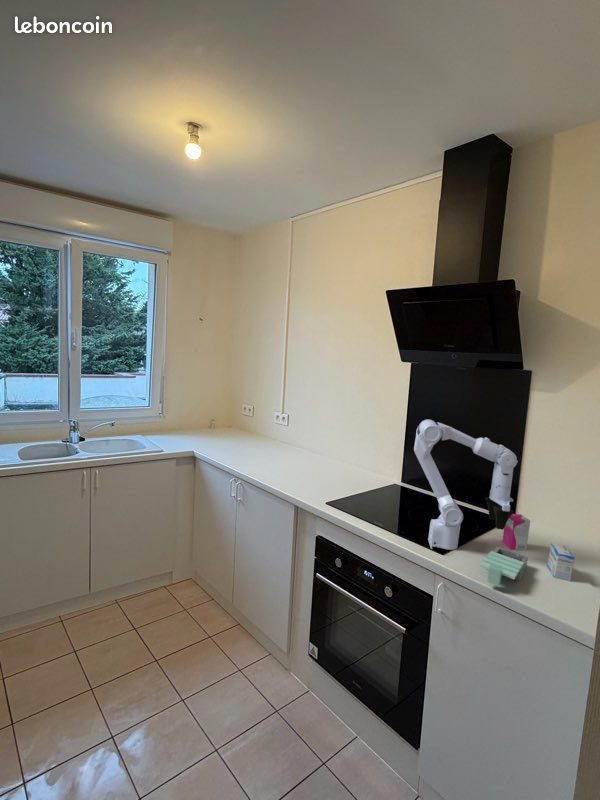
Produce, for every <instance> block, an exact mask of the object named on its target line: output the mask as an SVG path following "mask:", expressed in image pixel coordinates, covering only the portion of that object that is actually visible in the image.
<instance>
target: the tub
mask: <svg viewBox="0 0 600 800" xmlns="http://www.w3.org/2000/svg"><path fill="white" fill-rule="evenodd" d="M492 551H493V552H495V553H498V554H501V555H504V556H507V557H510V558H512V557H516V558H519V559H521V560H522V561H521V562H524V565H523V566H522V568H521V570H520V571H519V573H518V575H517V576H516V578H515V579H512V578H509V577H506V576H504V575H502V576H503V577H504V578H508V579H510V580H512V581H513V580H514V581H515V582H520V580H521V578H522V577H523V574H524V573H525V571H526V570H527V567H528V560H529V556H526V555H523V554H520V553H519V552H518V553H517V552H515V551H513V550H512V551H511V550H510V549H509V550H508V549H505V548H502V547H500V546H496V548H495V549H494V550H492ZM485 570H486V571H489V570H488V569H485ZM502 576H501V577H502Z"/></svg>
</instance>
